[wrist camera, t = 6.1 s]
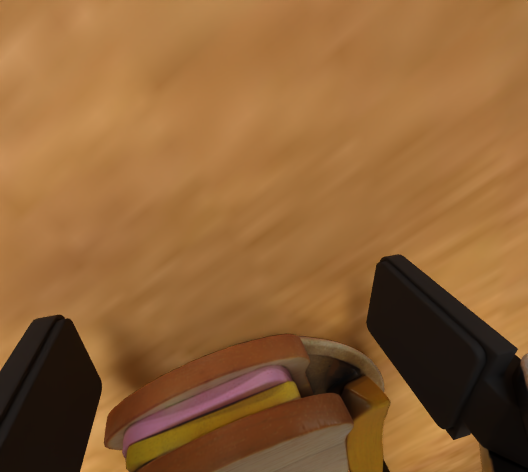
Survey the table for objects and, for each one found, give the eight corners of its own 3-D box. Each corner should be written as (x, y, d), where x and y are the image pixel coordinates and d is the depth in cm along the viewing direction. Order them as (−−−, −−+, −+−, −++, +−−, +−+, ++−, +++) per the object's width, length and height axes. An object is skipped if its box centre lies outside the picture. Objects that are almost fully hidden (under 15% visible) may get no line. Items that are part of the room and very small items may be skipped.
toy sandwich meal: (172, 502, 17) (167, 633, 13) (69, 351, 10) (-6, 523, 6) (365, 436, 19) (413, 534, 15) (383, 271, 12) (480, 367, 8)
